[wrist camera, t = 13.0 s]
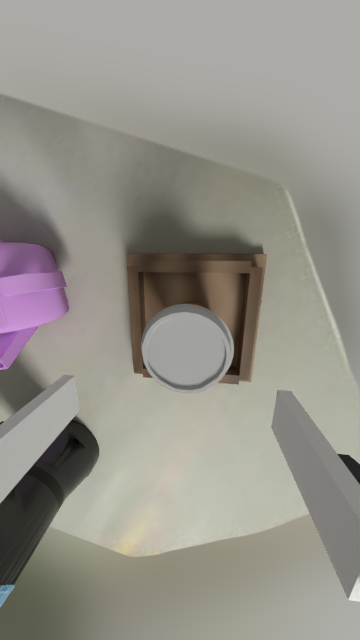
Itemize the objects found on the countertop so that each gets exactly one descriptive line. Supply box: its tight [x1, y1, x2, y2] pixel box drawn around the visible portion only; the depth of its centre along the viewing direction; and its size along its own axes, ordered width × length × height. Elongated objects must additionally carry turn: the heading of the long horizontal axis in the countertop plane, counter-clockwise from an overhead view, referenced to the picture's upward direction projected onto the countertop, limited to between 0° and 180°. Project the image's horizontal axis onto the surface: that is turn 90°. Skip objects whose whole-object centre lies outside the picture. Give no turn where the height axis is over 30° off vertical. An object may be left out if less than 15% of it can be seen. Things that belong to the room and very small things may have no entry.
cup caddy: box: [127, 254, 267, 384], centre depth 29 cm, size 20×20×4 cm
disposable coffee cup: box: [141, 302, 234, 393], centre depth 24 cm, size 10×10×12 cm
